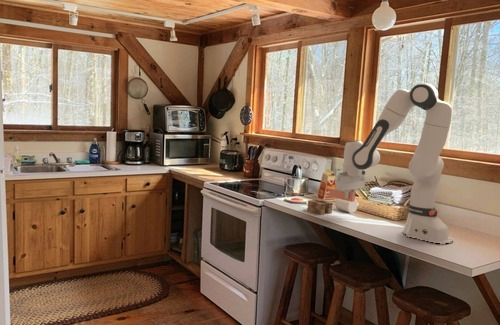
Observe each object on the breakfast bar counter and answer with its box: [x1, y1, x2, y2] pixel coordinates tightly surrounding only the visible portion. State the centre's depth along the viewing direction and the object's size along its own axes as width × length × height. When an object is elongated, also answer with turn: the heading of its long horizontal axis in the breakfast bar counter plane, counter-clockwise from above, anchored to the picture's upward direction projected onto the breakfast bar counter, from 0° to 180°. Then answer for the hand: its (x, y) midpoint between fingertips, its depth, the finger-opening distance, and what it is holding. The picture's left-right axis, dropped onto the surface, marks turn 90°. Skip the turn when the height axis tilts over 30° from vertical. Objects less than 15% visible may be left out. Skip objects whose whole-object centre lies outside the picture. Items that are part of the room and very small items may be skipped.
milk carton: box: [316, 167, 337, 202], centre depth 281 cm, size 9×9×20 cm
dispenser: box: [306, 198, 334, 216], centre depth 246 cm, size 10×9×6 cm
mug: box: [334, 198, 360, 214], centre depth 255 cm, size 12×10×8 cm
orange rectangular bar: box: [329, 188, 356, 202], centre depth 235 cm, size 15×2×4 cm, turn 40°
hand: (349, 198), depth 231 cm, fingers closed on orange rectangular bar, 2 cm apart
